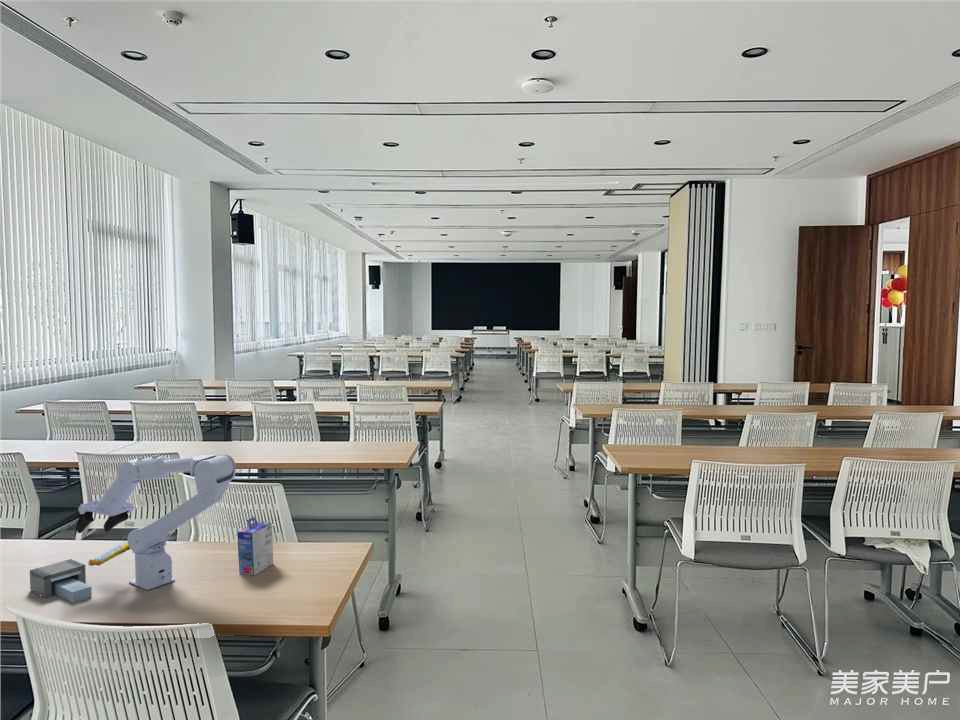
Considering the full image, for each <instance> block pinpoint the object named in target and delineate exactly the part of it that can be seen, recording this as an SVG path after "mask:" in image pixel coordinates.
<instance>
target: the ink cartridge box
mask: <svg viewBox="0 0 960 720" xmlns="http://www.w3.org/2000/svg"><path fill="white" fill-rule="evenodd" d="M252 521H254V522H252ZM251 522H252V523H251ZM246 523H247V527H245V528H243V529H240V530H238V531H237V532H236V533H237V534H236V535H237V551H238V553H237V555H238V571H239V574H240V575H245V576H246V575H247V576H255V575H257V574H258V573H260V572H262V571H264V570H265V569H267V568H268V567H270V566H271V565H273V564H274V544H273V543H274V542H273V541H274V538H273V523H272V522H264V521H263V522H262V521H257V519H256V518H255V517H254V516H253V517H251V518H249V519H246Z"/></svg>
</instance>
